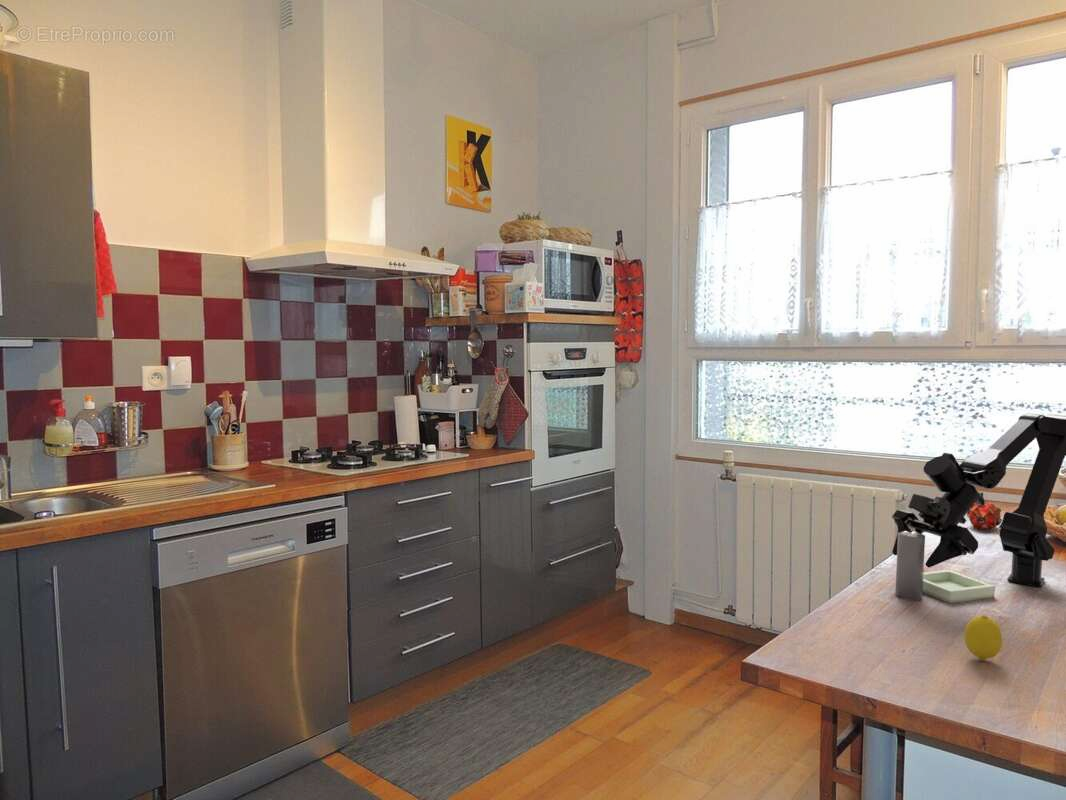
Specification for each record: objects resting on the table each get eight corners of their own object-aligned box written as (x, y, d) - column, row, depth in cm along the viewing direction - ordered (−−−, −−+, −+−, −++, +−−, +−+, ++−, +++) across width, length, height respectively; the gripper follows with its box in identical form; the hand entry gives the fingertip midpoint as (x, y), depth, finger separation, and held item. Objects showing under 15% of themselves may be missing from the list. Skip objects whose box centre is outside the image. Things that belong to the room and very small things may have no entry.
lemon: (1006, 668, 127) (1009, 622, 126) (970, 665, 128) (972, 619, 127) (993, 655, 132) (995, 610, 131) (959, 652, 133) (961, 608, 132)
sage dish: (948, 580, 173) (948, 569, 172) (994, 597, 161) (995, 586, 161) (906, 585, 169) (906, 574, 169) (950, 603, 158) (950, 591, 157)
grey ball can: (899, 590, 166) (901, 527, 164) (925, 595, 162) (927, 531, 161) (892, 596, 162) (895, 532, 160) (919, 602, 158) (921, 536, 157)
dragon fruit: (990, 529, 225) (982, 543, 216) (964, 510, 228) (955, 523, 219) (1011, 510, 220) (1003, 524, 211) (984, 490, 224) (975, 503, 215)
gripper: (900, 474, 170) (858, 525, 168) (970, 489, 153) (924, 547, 150) (926, 506, 173) (885, 557, 171) (998, 525, 156) (953, 582, 153)
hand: (909, 559), depth 161 cm, fingers open, 9 cm apart
